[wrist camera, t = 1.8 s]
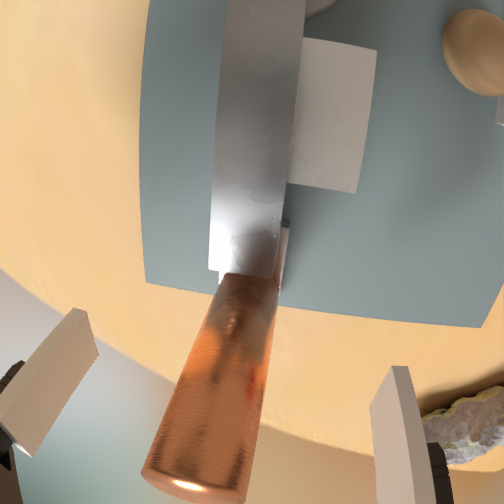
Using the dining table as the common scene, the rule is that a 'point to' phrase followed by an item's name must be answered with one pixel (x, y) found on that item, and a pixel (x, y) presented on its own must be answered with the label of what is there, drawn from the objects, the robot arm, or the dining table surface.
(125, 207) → the dining table surface
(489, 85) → the light brown ball
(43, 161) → the dining table surface
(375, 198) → the board
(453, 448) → the mineral specimen
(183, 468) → the lever
